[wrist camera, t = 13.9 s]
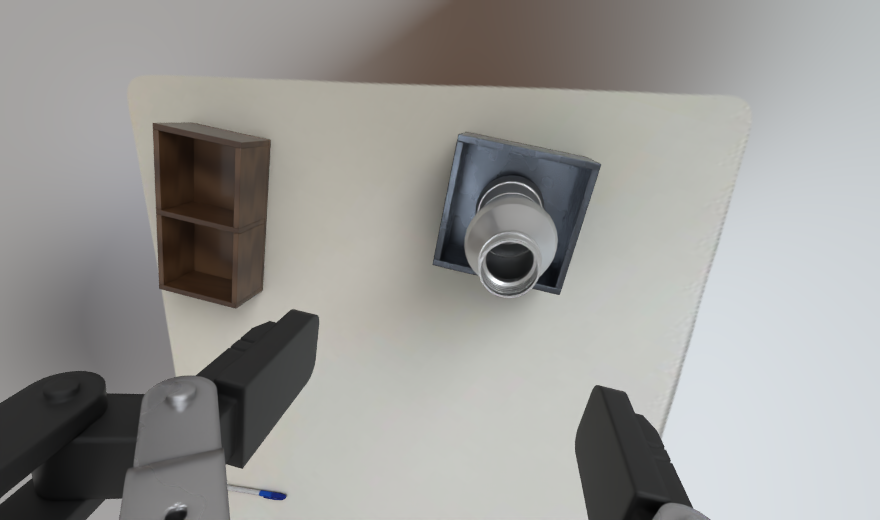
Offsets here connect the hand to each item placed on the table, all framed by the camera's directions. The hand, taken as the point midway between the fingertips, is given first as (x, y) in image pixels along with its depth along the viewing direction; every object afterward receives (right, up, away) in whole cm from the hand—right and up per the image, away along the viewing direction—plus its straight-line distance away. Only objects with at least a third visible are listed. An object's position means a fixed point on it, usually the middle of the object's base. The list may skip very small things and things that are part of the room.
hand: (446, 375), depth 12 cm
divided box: (-25, +9, +37) cm, 46 cm away
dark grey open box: (+7, +9, +32) cm, 34 cm away
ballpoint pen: (-28, -31, +51) cm, 66 cm away
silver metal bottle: (+7, +9, +32) cm, 33 cm away
